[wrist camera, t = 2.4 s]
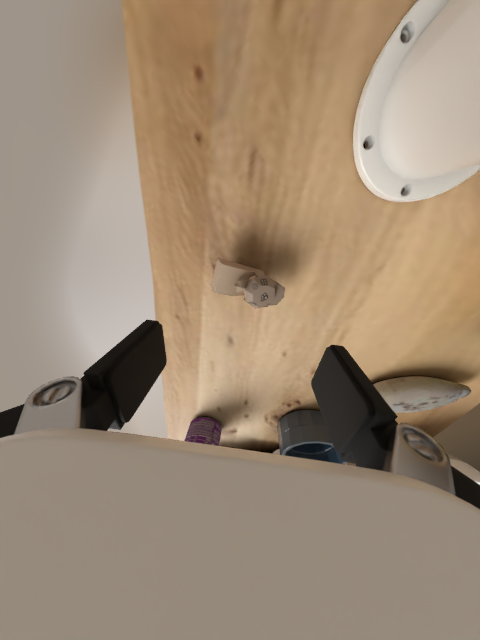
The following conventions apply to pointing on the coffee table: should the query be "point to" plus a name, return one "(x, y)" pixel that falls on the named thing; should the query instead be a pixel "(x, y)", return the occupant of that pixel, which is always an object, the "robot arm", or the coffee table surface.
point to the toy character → (246, 284)
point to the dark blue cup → (306, 437)
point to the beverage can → (204, 431)
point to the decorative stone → (419, 393)
